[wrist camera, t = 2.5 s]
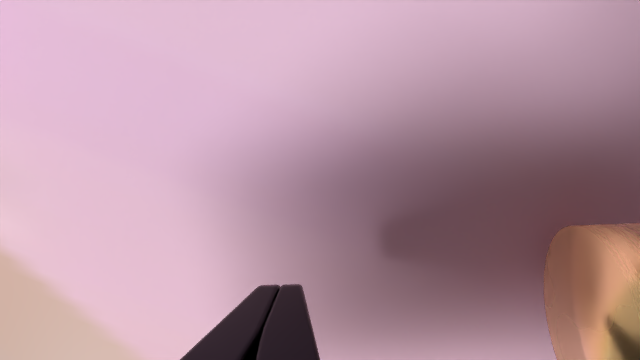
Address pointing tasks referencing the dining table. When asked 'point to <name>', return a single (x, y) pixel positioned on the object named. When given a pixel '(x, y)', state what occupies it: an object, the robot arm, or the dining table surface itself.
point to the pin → (594, 292)
